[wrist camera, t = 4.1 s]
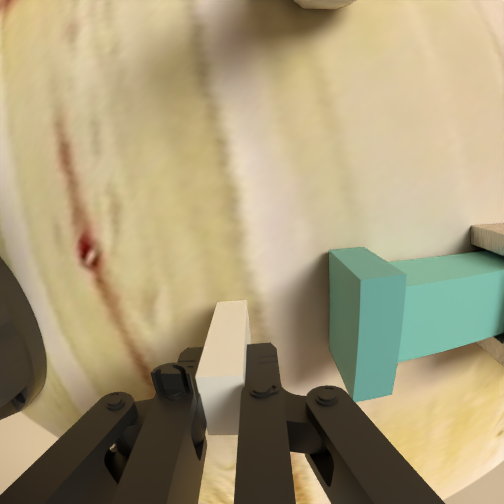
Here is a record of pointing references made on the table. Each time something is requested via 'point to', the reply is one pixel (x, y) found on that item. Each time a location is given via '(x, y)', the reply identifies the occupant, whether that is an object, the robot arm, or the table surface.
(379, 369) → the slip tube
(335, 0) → the salt shaker
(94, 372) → the table surface
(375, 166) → the table surface
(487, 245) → the sleeve
